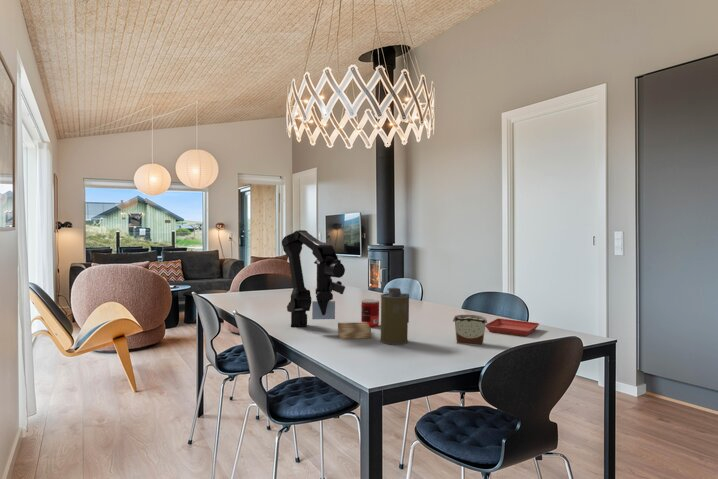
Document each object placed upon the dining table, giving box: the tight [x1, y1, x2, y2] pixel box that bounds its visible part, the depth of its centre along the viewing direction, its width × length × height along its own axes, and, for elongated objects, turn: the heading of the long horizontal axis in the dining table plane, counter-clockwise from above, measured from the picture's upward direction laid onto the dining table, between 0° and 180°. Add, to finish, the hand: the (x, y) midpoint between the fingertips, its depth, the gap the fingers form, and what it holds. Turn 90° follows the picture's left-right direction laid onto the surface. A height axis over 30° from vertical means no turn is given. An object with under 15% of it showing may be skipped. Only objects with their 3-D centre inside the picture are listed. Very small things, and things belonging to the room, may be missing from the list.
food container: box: [452, 314, 488, 347], centre depth 176 cm, size 12×6×10 cm, turn 71°
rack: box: [337, 321, 372, 340], centre depth 187 cm, size 12×12×4 cm
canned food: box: [360, 298, 380, 328], centre depth 206 cm, size 8×8×11 cm
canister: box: [379, 287, 410, 346], centre depth 177 cm, size 11×10×20 cm
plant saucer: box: [485, 318, 540, 337], centre depth 198 cm, size 18×18×3 cm
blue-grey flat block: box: [311, 300, 336, 320], centre depth 189 cm, size 9×2×7 cm, turn 97°
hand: (323, 314), depth 189 cm, fingers closed on blue-grey flat block, 2 cm apart
